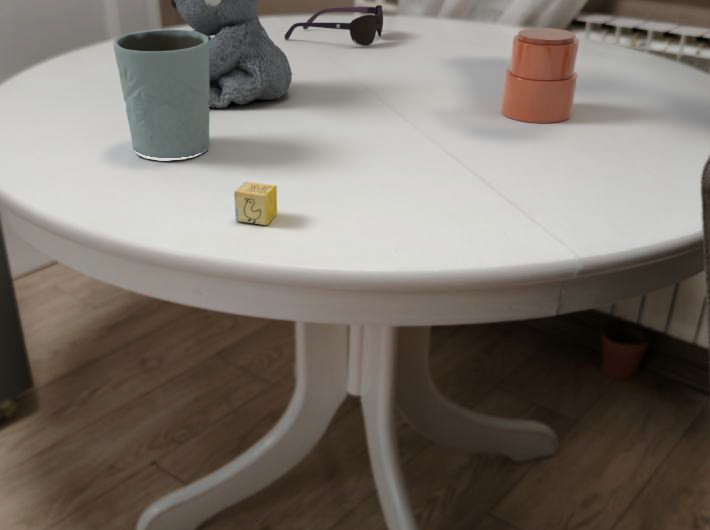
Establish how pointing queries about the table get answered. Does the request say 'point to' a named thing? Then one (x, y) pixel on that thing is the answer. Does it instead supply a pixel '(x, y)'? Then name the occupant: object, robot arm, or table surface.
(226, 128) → the table surface
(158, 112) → the green embossed cup
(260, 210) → the alphabet block
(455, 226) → the table surface
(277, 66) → the koala plush
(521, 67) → the upturned cup
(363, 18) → the sunglasses
